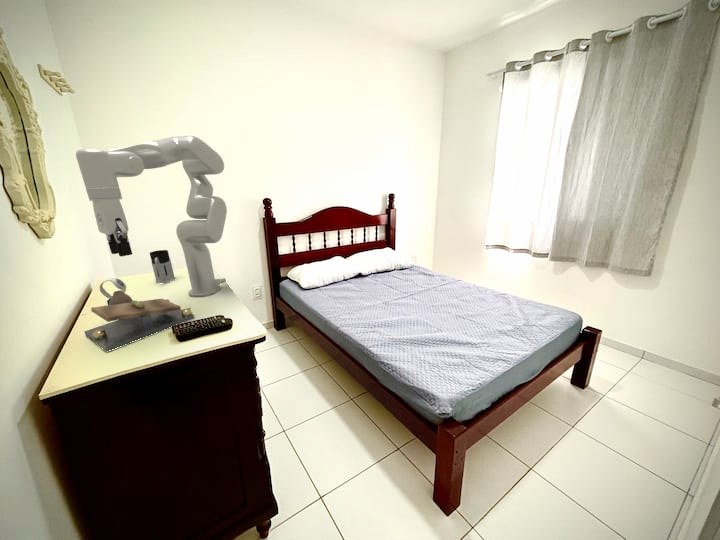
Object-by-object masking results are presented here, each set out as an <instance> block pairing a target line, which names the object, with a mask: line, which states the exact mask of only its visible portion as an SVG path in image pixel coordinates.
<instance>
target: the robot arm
mask: <svg viewBox="0 0 720 540" xmlns="http://www.w3.org/2000/svg"><path fill="white" fill-rule="evenodd" d="M75 157H76V160H77V164H78V167H79V171H80V174H81V177H82V181H83V184H84V187H85V189H86V194H87V197H88V200H89V201H91V202H92V209H93V212H94V216H95V217H94V218H95V221H96V226H97V229H98V232H99V233H101V234H104V235H105V236H106V239H107V243H108V246H109V247H108V248H109V250H110V253H111V255H117V254H118V256H119V257H120V258H121V257H126V256H127V257H128V256H132V255H133V250H132V248H131V244H130V239H129V238H128V237H129V236H128V231H129V225H128V221H127V218H126V215H125V211H124V209H123V206H122V203H121V201H120V200H123V196H122V192H121V188H120V185H119V181H118V178H133V177H138V176H140V175H141V174H142V173H143V171H144V170H154V169H158V168H159V169H160V168H163V167H166V166H169V165H171V164H175V163H178V162H181V164H182V168H183V170H184V172H185V174H186V175H187V177H188V179H189V182H190V191H189V194H188V199H187V204H186V207H185V211H186V214H187V215H188V217H189V218H191V219H188V220H184V221H181V222H179V223H178V224H177V226H176V229H175V230H176V236H177V238H178V240H179V243H180V245H181V248H182V251H183V255H184V259H185V264H186V269H187V273H188V277H189V278H188V279H189V282H190V287H191V288H190V290H189V291H188V296H190V297H193V298H198V297H199V298H201V297H207V296H211V295H213V294H214V295H215V294H217V293H218V292H220V291H221V286H220V284H223V283H226V282H227V280H226V278H225V277H223V278H215V272H214V269H213V268H214V267H213V262H212V257H211V252H210V250H209V248H208V246H207V244H216V243H219V241H221V239H222V237H223V233H224V229H225V224H226V218H227V211H228V210H227V209H228V208H227V204H226V202H225V200H224V199H222V198H221V197H220V196H216V195H215V196H214V195H213V194H214V188H213V187H214V186H213V185H212V183H211V182H210V181H209V179H208V178H207V176H209V175H210V176H211V175H213V176H214V175H220V174H222V173H223V172H224V170H225V163H224V160H223V158H222V156H221V155H220V154H219V153H218V152H217V151H216V150H214V149H213V148H212V147H211V146H209V145H208V143H206V142H205V141H204V140H202V139H200V137H197V136H194V135H178V136H177V135H176V136H169V137H165V138H161V139H156V140H151V141H147V142H140V143H137V144H133V145H128V146H127V145H126V146H122V147H118V148H112V149H108V150H107V149H106V150H103V149H92V148H91V149H89V148H88V149H86V148H84V149H79V150H76V152H75Z"/></svg>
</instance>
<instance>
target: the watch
mask: <svg viewBox="0 0 720 540" xmlns="http://www.w3.org/2000/svg"><path fill="white" fill-rule="evenodd" d="M106 282H111V283H112V285H113V286H114V287H116V288H117V289H118V290H121V291H123V292H124V293H125V294H126V292H127V284H125V282H124V281H123V280H122V279H119V278H114V277H111V278H107V279H105V280H104V281H102V282H101V283H100V285H99V292H100V293H101V294H102V295H103V297H105V298H106V299H108V300H106V303H107V306H108V305H109V302H110V299H111V297H112V296H113V295H111V294H110V293H108V291H106V289H105V288H104V287H103V285H104V283H106Z"/></svg>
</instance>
